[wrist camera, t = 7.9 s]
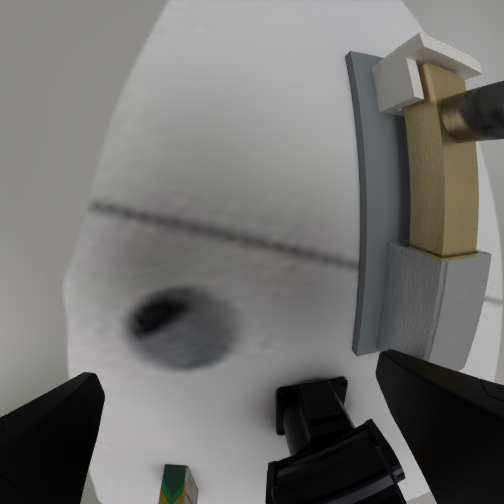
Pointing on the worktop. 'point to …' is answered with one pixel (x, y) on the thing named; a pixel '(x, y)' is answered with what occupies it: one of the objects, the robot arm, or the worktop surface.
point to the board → (377, 194)
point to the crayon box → (178, 486)
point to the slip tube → (448, 159)
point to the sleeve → (432, 303)
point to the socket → (415, 71)
